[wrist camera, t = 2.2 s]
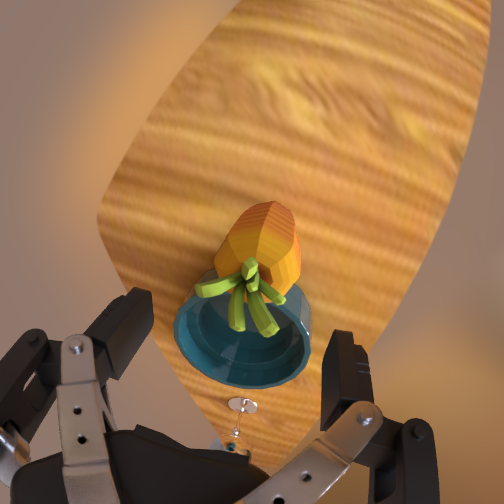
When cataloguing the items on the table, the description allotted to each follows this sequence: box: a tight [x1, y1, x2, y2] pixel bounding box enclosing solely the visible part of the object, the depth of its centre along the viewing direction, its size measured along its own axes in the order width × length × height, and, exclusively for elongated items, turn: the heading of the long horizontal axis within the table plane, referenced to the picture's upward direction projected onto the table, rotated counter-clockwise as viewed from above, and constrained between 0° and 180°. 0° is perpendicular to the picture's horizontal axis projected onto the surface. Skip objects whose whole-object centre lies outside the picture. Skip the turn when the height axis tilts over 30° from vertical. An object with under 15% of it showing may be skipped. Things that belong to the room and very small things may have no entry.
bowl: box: [174, 268, 312, 389], centre depth 29 cm, size 13×13×5 cm
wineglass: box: [209, 397, 258, 463], centre depth 34 cm, size 6×6×12 cm
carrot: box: [195, 201, 301, 337], centre depth 19 cm, size 5×5×15 cm
